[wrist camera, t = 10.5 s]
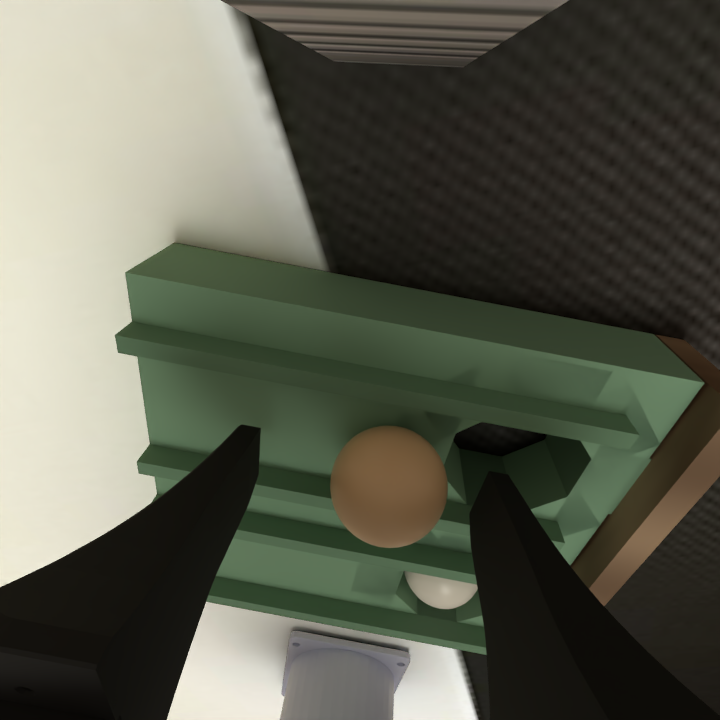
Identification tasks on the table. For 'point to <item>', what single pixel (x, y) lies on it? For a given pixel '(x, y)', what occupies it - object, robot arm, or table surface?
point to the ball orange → (388, 486)
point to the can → (399, 27)
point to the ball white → (440, 590)
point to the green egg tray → (383, 422)
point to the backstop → (659, 486)
